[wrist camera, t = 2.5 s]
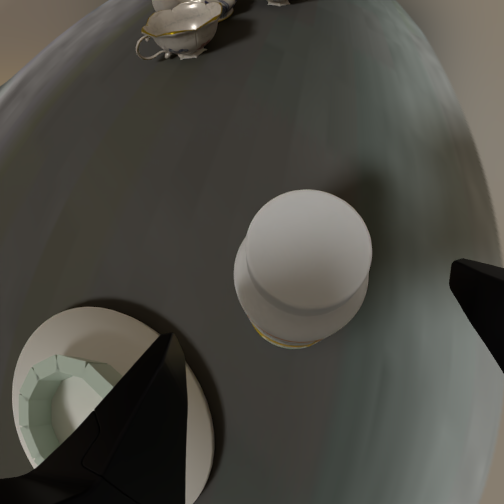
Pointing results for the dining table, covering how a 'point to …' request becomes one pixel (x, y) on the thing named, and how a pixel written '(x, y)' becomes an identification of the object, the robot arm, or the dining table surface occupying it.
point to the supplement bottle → (303, 267)
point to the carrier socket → (93, 384)
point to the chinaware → (187, 25)
